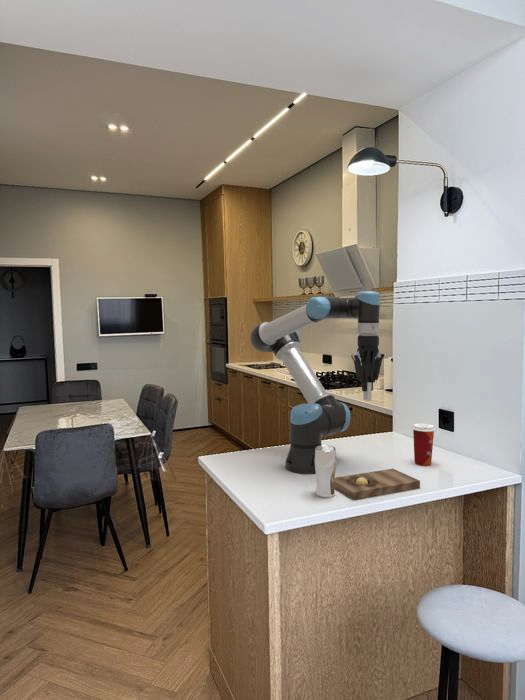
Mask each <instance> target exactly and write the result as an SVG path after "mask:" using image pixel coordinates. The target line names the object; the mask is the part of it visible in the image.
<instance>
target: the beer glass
mask: <svg viewBox="0 0 525 700" xmlns="http://www.w3.org/2000/svg"><path fill="white" fill-rule="evenodd" d="M314 464H315V472H316V473H315V477H316V489H315V495H316V496H317V497H320V498H325V499H327V498H332V497H334V496H335V494H336V492H335V489H334V478H335V475H336V470H337V449H336V447H335V446H333V445H325V444H324V445H323V444H322V445H321V446H317V447H315V458H314Z"/></svg>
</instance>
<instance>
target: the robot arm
mask: <svg viewBox="0 0 525 700" xmlns="http://www.w3.org/2000/svg"><path fill="white" fill-rule="evenodd" d="M380 302H381V301H380V293H379V292H378V291H370V290H369V291H366V290H365V291H359V292H358V293H357V297H332V296H331V297H329V296H316V297H315V296H314V297H311V298H309V299H308V301H307V302H306V304H305V305H303V306H301V307H299V308H297V309H295V310H292V311H290V312H288V313H286V314H284V315H282V316H279V317H278V318H275V319H274V320H271V321H269V322H268V321H263V322H261V323H260V324H257V325H255V327H254V328H253V329H251V331H250V334H249V341H250V344H251V346H252V347H253V348H254V349H255V350H257V351H258V352H261V353H273V354H274V356H275V358H276V360H278V361H282V362H283V364H284V366H285V367H286V369H287V371H288V372H289V374H290V376H291V377H292V379H293V381H294V382H295V383H296V385H297V387H298V388H299V390H300V392H301V393H302V395H303V397H304V399H305V400H306V402H307V403H300V404H297V405H295V406H293V407H292V408H291V410H290V417H289V423H290V425H289V428H290V429H289V433H290V435H289V436H290V437H289V438H290V439H289V440H290V441H289V442H290V443H289V444H290V445H289V450H288V452H287V455H286V459H285V469H286V468H287V469H286V470H288V471H289V470H290V471H289V472H292V473H297V474H309V475H310V474H316V472H315V464H314V458H315V447H317V446H322V442H323V441H322V437H327V436H332V435H336V434H340V433H343V432H344V431H346V430H347V429H348V428H349V425H350V424H351V419H352V418H351V411H350V409H349V407H348V405H346V403H344V402H341V401H338V400H337V399H336V397H335V396H334V395H333V394H331V393H328V392H327V391H326V389H325V387H324V386H323V384H322V383H321V381H320V380H319V378H318V377H317V375H316V373H315V372H314V370H313V369H312V367H311V366H310V364H309V363H308V361H307V360H306V358H305V356H304V354H303V353H302V352H301V350H300V348H301V334H300V332H299V331H300V330H302V329H305V328H307V327H310V326H311V325H314V324H317V323H319V322H321V321H323V320H326V319H357V334H358V335H357V350H356V352H355V353H354V354H351V359H352V361H353V364H354V369H355V375H356V380H357V381H359V382H361V391H362V392H363V395H362V396H363V397H362V398H363V401H367V402H369V401H372V391H373V390H374V383H375V382H376V381H378V380H379V377H380V376H379V375H380V371H381V367H382V362H383V359H384V357H385V353H381V352H380V350H379V345H380V336H379V334H380V309H381V308H380V306H381V303H380Z"/></svg>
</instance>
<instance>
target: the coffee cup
mask: <svg viewBox="0 0 525 700" xmlns="http://www.w3.org/2000/svg"><path fill="white" fill-rule="evenodd" d="M412 430H413V455H414V464H415V465H417V466H419V467H430V466H431V465H432V461H433V460H432V458H433V446H434V434H435V431H436V428H435V426H434V425H433V424H430V423H423V422H420V423H419V422H418V423H414V424H413V426H412Z"/></svg>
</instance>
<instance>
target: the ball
mask: <svg viewBox="0 0 525 700" xmlns="http://www.w3.org/2000/svg"><path fill="white" fill-rule="evenodd" d="M356 484H360V485H367V484H368V481H367V480H366V479H365V478H363V477H360V478H358V479H357V480H356Z"/></svg>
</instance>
